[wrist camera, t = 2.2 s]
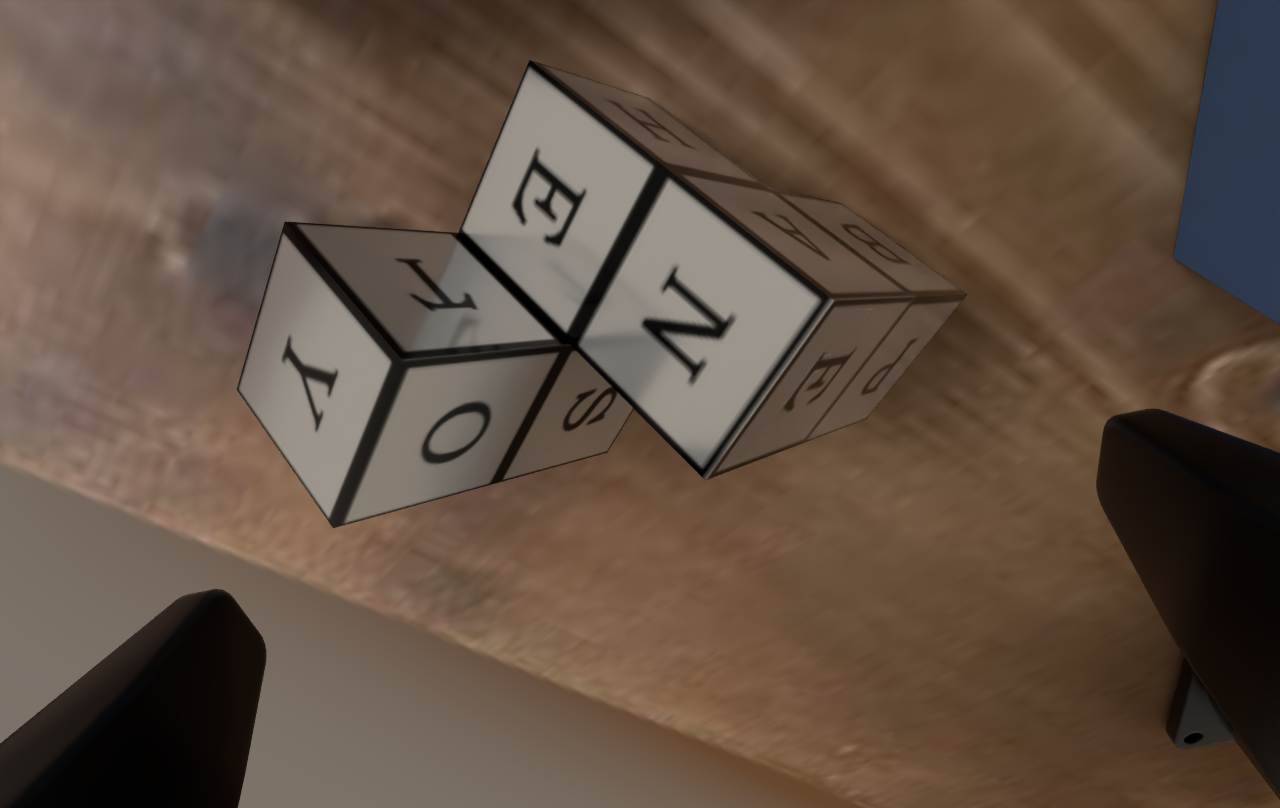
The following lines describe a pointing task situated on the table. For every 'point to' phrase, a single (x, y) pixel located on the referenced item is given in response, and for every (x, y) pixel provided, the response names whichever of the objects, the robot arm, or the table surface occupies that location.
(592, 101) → the building blocks
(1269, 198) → the blue block
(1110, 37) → the table surface
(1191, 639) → the robot arm
